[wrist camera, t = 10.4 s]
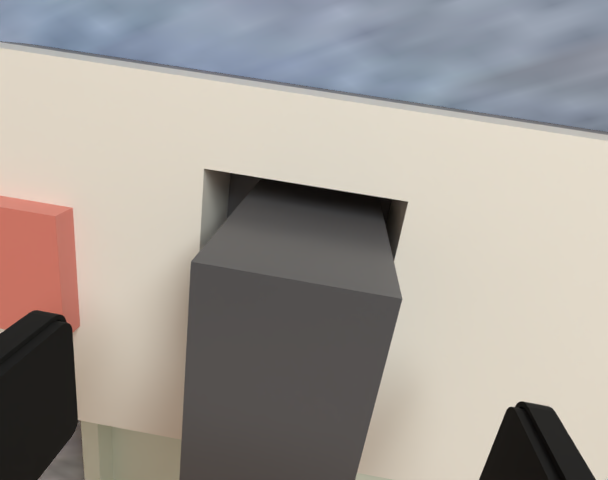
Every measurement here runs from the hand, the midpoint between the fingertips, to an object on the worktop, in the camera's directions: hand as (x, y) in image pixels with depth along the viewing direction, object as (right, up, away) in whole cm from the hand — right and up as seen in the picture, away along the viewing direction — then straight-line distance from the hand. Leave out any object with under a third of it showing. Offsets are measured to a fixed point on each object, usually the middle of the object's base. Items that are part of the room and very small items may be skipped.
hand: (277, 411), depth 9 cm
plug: (+1, +3, +6) cm, 7 cm away
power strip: (+1, +4, +8) cm, 9 cm away
